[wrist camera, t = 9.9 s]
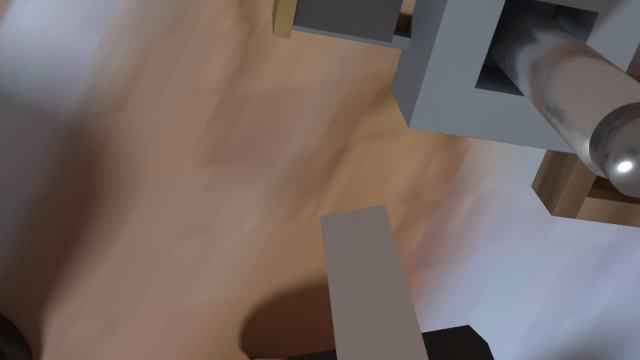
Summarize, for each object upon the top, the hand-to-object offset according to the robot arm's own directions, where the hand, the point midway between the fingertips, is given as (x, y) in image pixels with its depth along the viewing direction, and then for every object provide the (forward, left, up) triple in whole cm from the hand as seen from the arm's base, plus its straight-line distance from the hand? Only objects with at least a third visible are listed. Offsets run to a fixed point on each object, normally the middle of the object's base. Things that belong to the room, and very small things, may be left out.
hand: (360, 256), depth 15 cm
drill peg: (+14, 0, -27) cm, 30 cm away
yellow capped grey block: (+2, 0, -28) cm, 28 cm away
